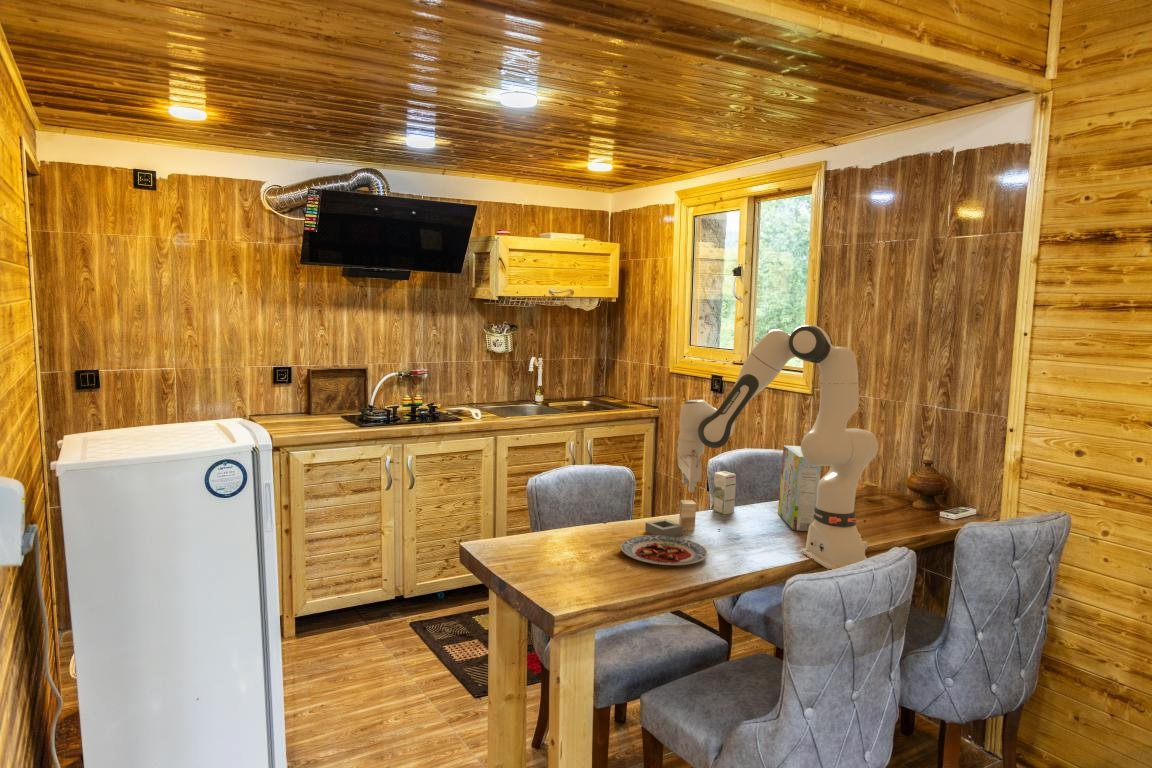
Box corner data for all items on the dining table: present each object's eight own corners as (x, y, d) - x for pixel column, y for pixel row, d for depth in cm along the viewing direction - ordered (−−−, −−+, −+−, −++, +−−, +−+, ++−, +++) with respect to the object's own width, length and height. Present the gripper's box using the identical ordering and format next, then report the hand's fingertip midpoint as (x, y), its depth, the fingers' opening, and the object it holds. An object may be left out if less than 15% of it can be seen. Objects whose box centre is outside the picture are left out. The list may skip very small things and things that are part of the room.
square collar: (682, 534, 242) (682, 525, 242) (662, 538, 237) (662, 529, 237) (665, 527, 249) (665, 519, 249) (645, 531, 244) (645, 522, 244)
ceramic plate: (689, 578, 205) (689, 567, 204) (605, 559, 217) (606, 549, 217) (718, 552, 227) (719, 543, 227) (641, 536, 239) (642, 527, 239)
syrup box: (734, 512, 270) (737, 473, 269) (723, 514, 267) (725, 475, 265) (723, 508, 275) (725, 470, 273) (711, 510, 272) (714, 472, 270)
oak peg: (694, 530, 248) (696, 503, 247) (681, 529, 247) (683, 503, 246) (691, 526, 252) (693, 500, 251) (678, 525, 252) (680, 500, 251)
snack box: (818, 532, 250) (823, 457, 247) (792, 531, 250) (797, 456, 247) (800, 514, 271) (805, 445, 269) (776, 513, 272) (781, 444, 269)
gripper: (707, 455, 237) (704, 497, 239) (693, 441, 257) (691, 480, 259) (688, 454, 236) (685, 496, 238) (675, 440, 257) (673, 479, 258)
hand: (688, 487), depth 249 cm, fingers open, 8 cm apart
